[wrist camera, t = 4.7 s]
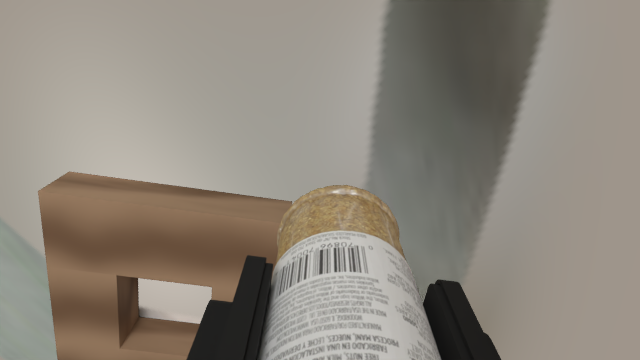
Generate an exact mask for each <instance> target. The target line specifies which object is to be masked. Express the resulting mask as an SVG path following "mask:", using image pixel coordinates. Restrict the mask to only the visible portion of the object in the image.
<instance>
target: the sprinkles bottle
mask: <svg viewBox="0 0 640 360" xmlns="http://www.w3.org/2000/svg"><path fill="white" fill-rule="evenodd" d="M277 246H278V254H277V260H276V265H275V268H274V271H273V276H272V281H271V288H270V294H269V299H268V305H267V310H266V315H265V321H264V326H263V331H262V337H261V342H260V347H259V353H258V358H257V360H441V357H440V354H439V351H438V348H437V345H436V342H435V339H434V336H433V333H432V330H431V327H430V324H429V321H428V318H427V315H426V312H425V309H424V306H423V303H422V300H421V297H420V294H419V291H418V288H417V286H416V283H415V280H414V277H413V274H412V271H411V269H410V267H409V265H408V263H407V262H406V259H405V256H404V254H403V250H402V247H401V245H400V241H399V229H398V225H397V222H396V219H395V217H394V216H393V214H392V212H391V210H390V209H389V207H388V206H387V205H386V204H385V203H383V202H382V201H381V200H380V199H379V198H378V197H377V196H375V195H373V194H371V193H369V192H368V191H366V190H363V189H359V188H357V187H353V186H348V185H335V186H334V185H333V186H327V187H324V188H318V189H316V190H313V191H311V192H309V193H307V194H306V195H304V196H302V197H300V198H299V199H298V200H296V201H295V202H294V203H293V205H292V206H291V207H290V208H289V209H288V211H287V212H286V213H285V214H284V216H283V218H282V221H281V223H280V225H279V229H278V233H277Z"/></svg>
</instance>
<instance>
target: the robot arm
mask: <svg viewBox="0 0 640 360" xmlns="http://www.w3.org/2000/svg"><path fill="white" fill-rule="evenodd" d="M266 261H267V257H259V256H251V255H247V257H246V260H245V263H244V266H243V270H242V273H241V276H240V279H239V283H238V286H237V289H236V292H235V296H234V299H233V302H227V301H219V300H210V301H209V303H208V305H207V308H206V310H205V313H204V315H203V318H202V320H201V323H200V326H199V328H198V331H197V333H196V336H195V339H194V341H193V344H192V346H191V349H190V351H189V354H188V357H187V359H186V360H257V358H258V353H259V347H260V342H261V337H262V331H263V326H264V321H265V315H266V310H267V305H268V299H269V294H270V288H271V280H272V272H273V264H272V263H266ZM423 306H424V309H425V312H426V315H427V318H428V321H429V324H430V327H431V330H432V333H433V336H434V339H435V342H436V345H437V348H438V351H439V354H440V357H441V360H501V358H500V356H499V355H498V353H497V350H496V349H495V346H494V345H493V342H492V340H491V339H490V337H489V336H488V335H487V334H486V333H484V332H483V330H482V328H481V326H480V324H479V322H478V320H477V318H476V316H475V314H474V312H473V310H472V308H471V306H470V304H469V302H468V300H467V298H466V295H465V293H464V291H463V289H462V287H461V285H460V284H459V283H458V282H454V281H446V280H437V281H436V282H435V284H430V285H429V287H428V290H427V293H426V296H425V300H424V303H423Z"/></svg>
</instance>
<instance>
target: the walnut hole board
mask: <svg viewBox="0 0 640 360" xmlns="http://www.w3.org/2000/svg"><path fill="white" fill-rule="evenodd" d="M38 195H39V203H40V212H41V221H42V229H43V238H44V246H45V255H46V263H47V272H48V281H49V289H50V298H51V306H52V315H53V323H54V332H55V341H56V349H57V358H58V360H186V359H187V357H188V354H189V351H190V349H191V346H192V344H193V341H194V339H195V336H196V333H197V331H198V328H199V326H200V324H194V323H186V322H177V321H169V320H160V319H152V318H144V317H139V306H138V278H143V279H151V280H159V281H167V282H175V283H184V284H192V285H200V286H209V287H212V299H211V300H219V301H227V302H233V299H234V296H235V292H236V289H237V286H238V283H239V279H240V276H241V273H242V270H243V266H244V263H245V260H246V257H247V255H251V256H259V257H267V261H266V263H272V264H273V271H274V268H275V265H276V260H277V254H278V246H277V233H278V229H279V225H280V223H281V221H282V218H283V216H284V214H285V213H286V212H287V211H288V209H289V208H290V207H291V206H292V201H284V200H276V199H268V198H262V197H254V196H246V195H239V194H232V193H225V192H217V191H209V190H202V189H195V188H187V187H179V186H172V185H164V184H158V183H150V182H143V181H135V180H128V179H120V178H113V177H106V176H98V175H91V174H83V173H75V172H68V173H66V174H65V175H63V176H61V177H60V178H59V179H57V180H55V181H54V182H52V183H51V184H49V185H47V186H46V187H44V188H42V189H41V190H39V191H38ZM272 276H273V272H272ZM271 281H272V280H271Z"/></svg>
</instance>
